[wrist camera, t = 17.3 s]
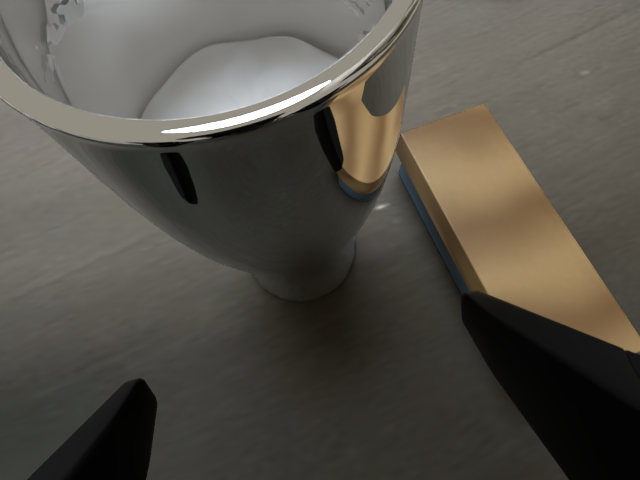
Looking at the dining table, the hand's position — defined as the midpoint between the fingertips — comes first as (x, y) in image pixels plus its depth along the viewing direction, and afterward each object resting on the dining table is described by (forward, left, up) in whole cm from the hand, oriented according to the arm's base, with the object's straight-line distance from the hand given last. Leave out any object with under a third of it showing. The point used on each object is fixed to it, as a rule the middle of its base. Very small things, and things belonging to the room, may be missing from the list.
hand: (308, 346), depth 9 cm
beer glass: (+5, -2, -9) cm, 10 cm away
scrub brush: (0, -10, -8) cm, 13 cm away
